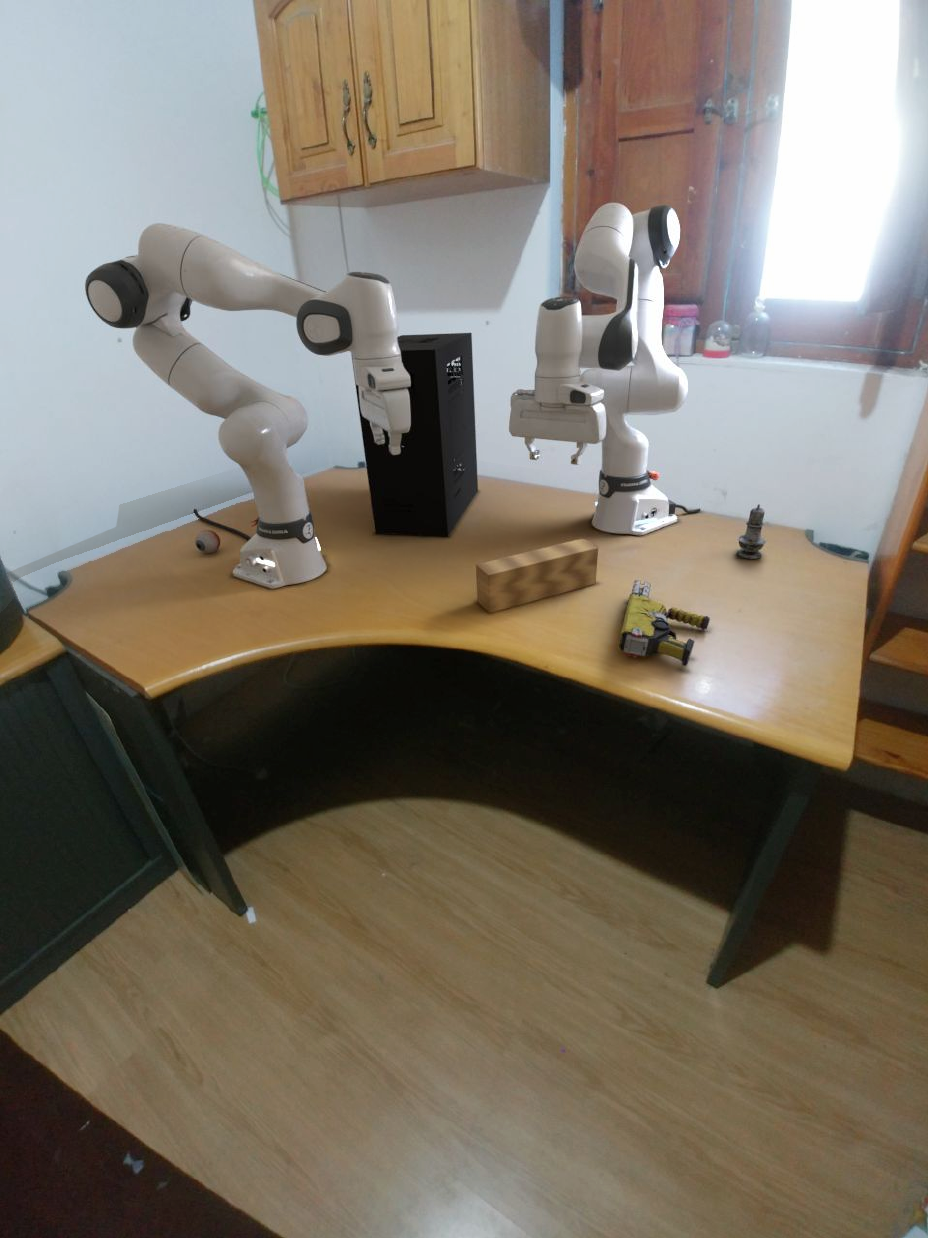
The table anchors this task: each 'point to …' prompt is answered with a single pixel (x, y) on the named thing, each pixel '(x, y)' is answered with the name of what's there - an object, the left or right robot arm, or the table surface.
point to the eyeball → (207, 541)
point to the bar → (536, 574)
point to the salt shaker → (752, 535)
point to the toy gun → (655, 627)
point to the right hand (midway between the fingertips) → (554, 461)
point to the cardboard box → (427, 442)
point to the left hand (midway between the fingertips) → (387, 448)
